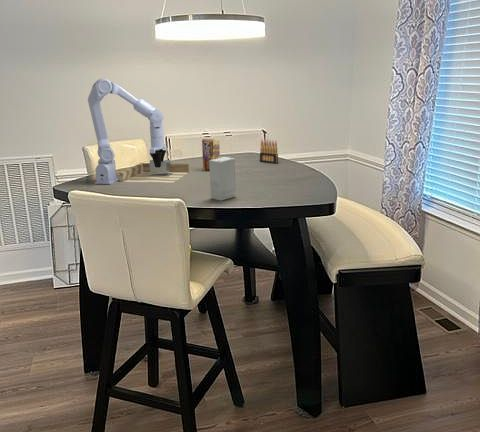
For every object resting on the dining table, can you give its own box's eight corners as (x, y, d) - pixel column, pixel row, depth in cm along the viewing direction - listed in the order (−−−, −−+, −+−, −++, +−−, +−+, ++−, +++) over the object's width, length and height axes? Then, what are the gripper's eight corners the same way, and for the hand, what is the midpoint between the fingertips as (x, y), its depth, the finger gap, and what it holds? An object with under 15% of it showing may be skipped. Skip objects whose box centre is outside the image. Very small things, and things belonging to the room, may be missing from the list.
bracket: (149, 171, 232) (149, 160, 230) (153, 169, 237) (154, 158, 236) (166, 173, 230) (166, 162, 229) (170, 170, 236) (170, 160, 234)
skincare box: (225, 194, 196) (224, 156, 192) (236, 196, 192) (235, 157, 188) (209, 198, 190) (208, 159, 186) (221, 201, 186) (219, 161, 182)
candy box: (221, 171, 242) (219, 139, 238) (213, 173, 239) (212, 140, 235) (209, 169, 249) (208, 138, 244) (202, 170, 246) (201, 139, 242)
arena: (173, 184, 216) (172, 173, 215) (120, 183, 221) (119, 172, 220) (189, 173, 239) (188, 163, 238) (141, 172, 244) (140, 163, 243)
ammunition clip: (259, 162, 265) (259, 139, 262) (261, 161, 267) (261, 138, 263) (276, 164, 259) (276, 140, 255) (278, 163, 260) (278, 140, 257)
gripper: (159, 138, 220) (161, 169, 224) (170, 134, 234) (172, 164, 238) (144, 138, 222) (146, 169, 225) (156, 134, 235) (158, 163, 239)
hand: (158, 166), depth 232 cm, fingers closed on bracket, 2 cm apart
